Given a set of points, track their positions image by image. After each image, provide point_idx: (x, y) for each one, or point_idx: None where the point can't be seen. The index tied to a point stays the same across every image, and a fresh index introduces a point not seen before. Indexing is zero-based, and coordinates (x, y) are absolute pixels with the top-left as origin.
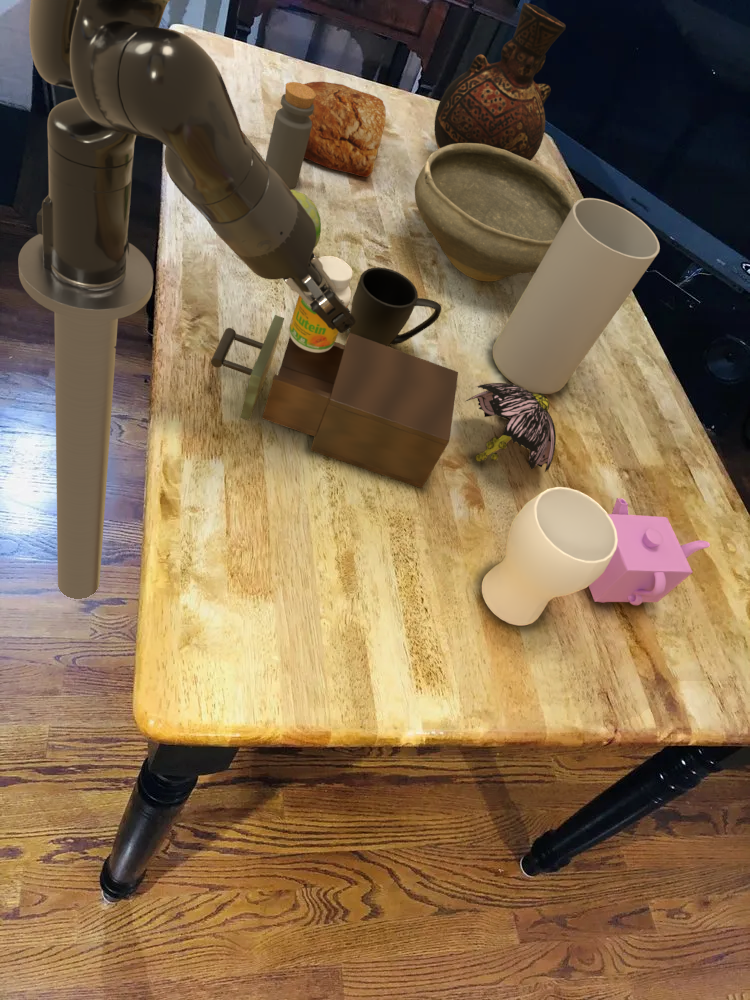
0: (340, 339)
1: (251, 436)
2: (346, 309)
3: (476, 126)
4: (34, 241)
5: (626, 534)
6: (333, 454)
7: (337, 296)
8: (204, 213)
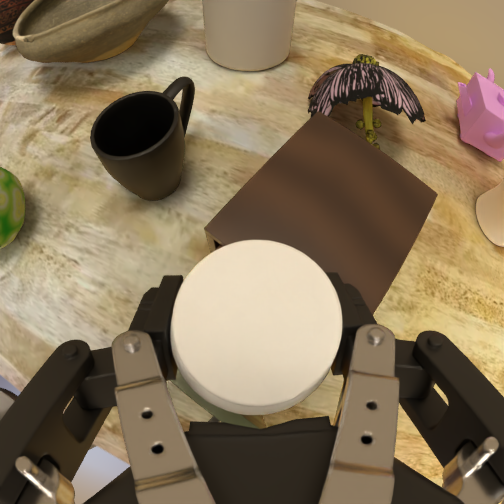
0: (144, 213)
1: (280, 416)
2: (457, 359)
3: (19, 7)
4: None
5: (499, 110)
6: None
7: (388, 363)
8: None
